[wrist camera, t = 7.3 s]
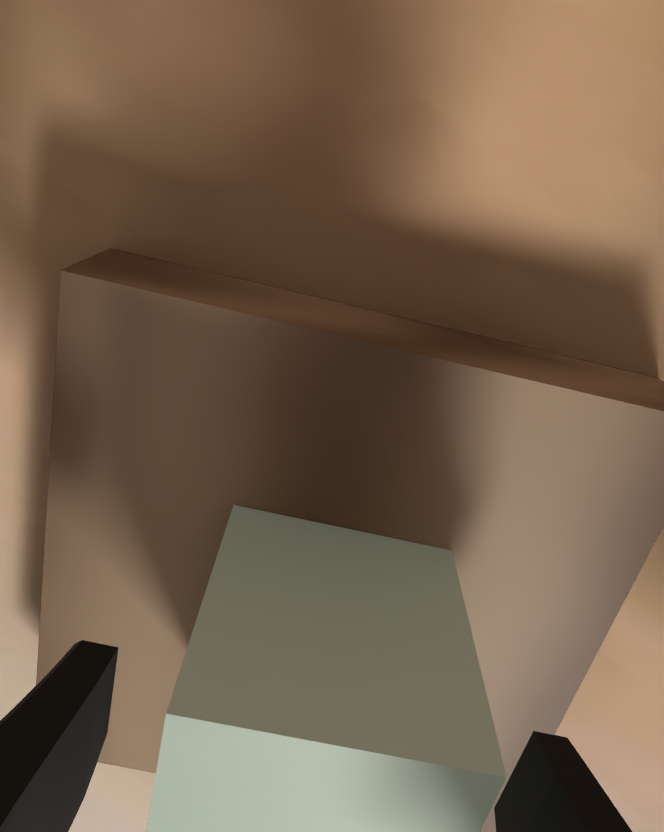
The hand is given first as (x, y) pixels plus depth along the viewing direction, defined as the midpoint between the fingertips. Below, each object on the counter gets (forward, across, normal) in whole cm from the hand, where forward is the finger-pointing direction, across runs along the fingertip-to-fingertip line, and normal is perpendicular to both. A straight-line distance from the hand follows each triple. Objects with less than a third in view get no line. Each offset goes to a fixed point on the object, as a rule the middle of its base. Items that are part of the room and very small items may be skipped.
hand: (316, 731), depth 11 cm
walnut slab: (+6, 0, 0) cm, 6 cm away
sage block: (+3, 0, 0) cm, 3 cm away
